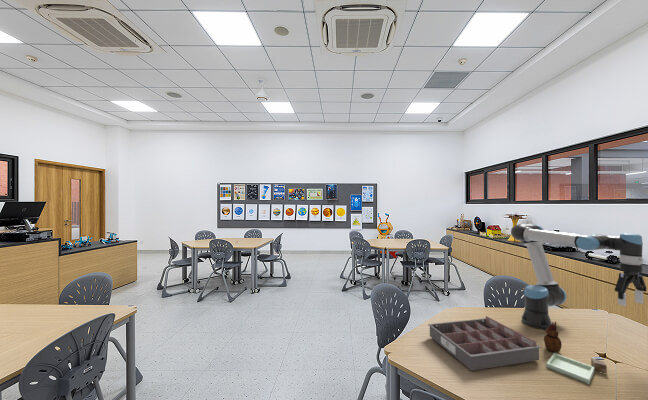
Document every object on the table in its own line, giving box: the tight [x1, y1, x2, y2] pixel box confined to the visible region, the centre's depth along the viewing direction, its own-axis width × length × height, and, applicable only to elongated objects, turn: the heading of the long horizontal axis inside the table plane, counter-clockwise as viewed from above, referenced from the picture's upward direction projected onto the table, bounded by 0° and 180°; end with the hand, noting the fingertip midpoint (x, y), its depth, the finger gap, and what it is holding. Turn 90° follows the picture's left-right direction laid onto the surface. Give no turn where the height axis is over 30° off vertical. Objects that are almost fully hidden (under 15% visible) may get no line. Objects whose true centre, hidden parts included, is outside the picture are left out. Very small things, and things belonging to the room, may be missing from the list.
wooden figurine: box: [543, 321, 562, 353], centre depth 133 cm, size 7×6×15 cm
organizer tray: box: [427, 315, 542, 371], centre depth 134 cm, size 32×40×10 cm
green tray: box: [545, 352, 595, 385], centre depth 117 cm, size 14×14×2 cm
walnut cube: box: [590, 358, 608, 375], centre depth 117 cm, size 4×4×4 cm
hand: (630, 304), depth 133 cm, fingers open, 13 cm apart
